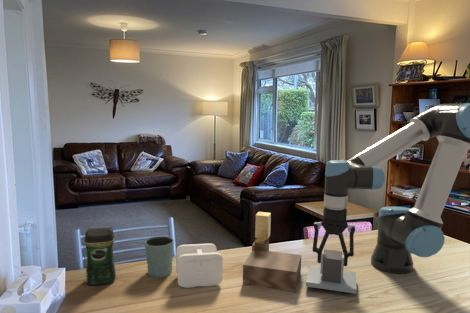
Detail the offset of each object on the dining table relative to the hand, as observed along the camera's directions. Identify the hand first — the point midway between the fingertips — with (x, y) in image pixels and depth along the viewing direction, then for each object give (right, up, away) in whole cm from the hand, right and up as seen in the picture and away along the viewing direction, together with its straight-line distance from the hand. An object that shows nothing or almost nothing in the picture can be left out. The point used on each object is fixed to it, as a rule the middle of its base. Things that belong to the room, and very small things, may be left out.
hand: (331, 273), depth 128 cm
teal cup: (-60, -3, +8) cm, 61 cm away
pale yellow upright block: (-22, +7, +19) cm, 30 cm away
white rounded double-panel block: (-45, -4, +2) cm, 46 cm away
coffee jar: (-79, -3, +1) cm, 79 cm away
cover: (0, -3, 0) cm, 3 cm away
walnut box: (-19, -3, +9) cm, 21 cm away
